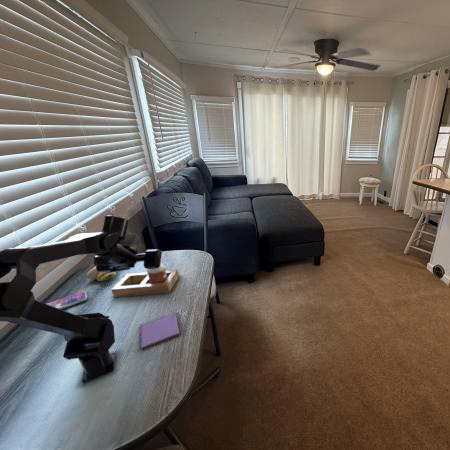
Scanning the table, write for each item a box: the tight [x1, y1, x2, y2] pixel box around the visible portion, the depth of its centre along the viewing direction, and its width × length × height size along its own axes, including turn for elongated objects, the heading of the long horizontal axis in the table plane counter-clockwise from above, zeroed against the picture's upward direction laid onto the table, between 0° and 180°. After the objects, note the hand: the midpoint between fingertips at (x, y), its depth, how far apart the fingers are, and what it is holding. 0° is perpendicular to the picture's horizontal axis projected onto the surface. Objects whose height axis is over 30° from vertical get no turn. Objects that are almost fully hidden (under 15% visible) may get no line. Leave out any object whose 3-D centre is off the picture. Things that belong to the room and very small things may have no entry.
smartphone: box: [46, 290, 88, 310], centre depth 88 cm, size 7×1×15 cm
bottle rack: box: [110, 269, 180, 298], centre depth 97 cm, size 11×20×4 cm, turn 97°
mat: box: [140, 313, 180, 349], centre depth 75 cm, size 10×10×1 cm
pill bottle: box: [146, 261, 167, 283], centre depth 97 cm, size 6×6×11 cm
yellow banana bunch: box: [86, 266, 117, 282], centre depth 104 cm, size 10×6×15 cm
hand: (143, 266), depth 87 cm, fingers open, 9 cm apart
